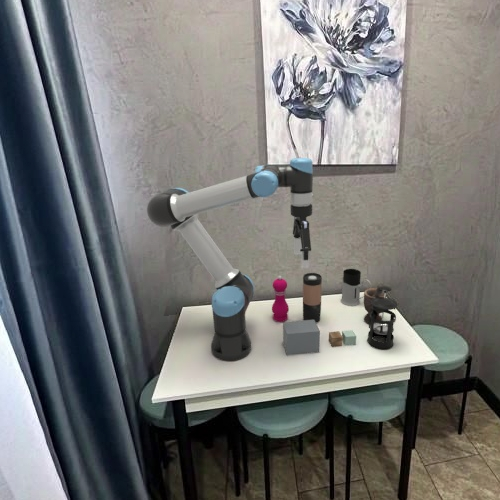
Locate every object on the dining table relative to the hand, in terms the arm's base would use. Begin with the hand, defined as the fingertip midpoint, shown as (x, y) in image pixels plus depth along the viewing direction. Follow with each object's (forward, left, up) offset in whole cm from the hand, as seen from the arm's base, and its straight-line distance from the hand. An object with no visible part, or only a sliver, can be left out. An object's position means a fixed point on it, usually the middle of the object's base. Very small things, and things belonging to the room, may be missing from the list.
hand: (301, 260), depth 131 cm
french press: (+28, -9, -32) cm, 43 cm away
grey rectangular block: (-2, -8, -32) cm, 33 cm away
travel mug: (+7, +11, -32) cm, 34 cm away
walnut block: (+11, -8, -32) cm, 35 cm away
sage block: (+17, -8, -32) cm, 37 cm away
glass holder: (+30, +21, -32) cm, 48 cm away
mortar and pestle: (+32, +4, -32) cm, 45 cm away
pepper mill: (-6, +14, -32) cm, 35 cm away
